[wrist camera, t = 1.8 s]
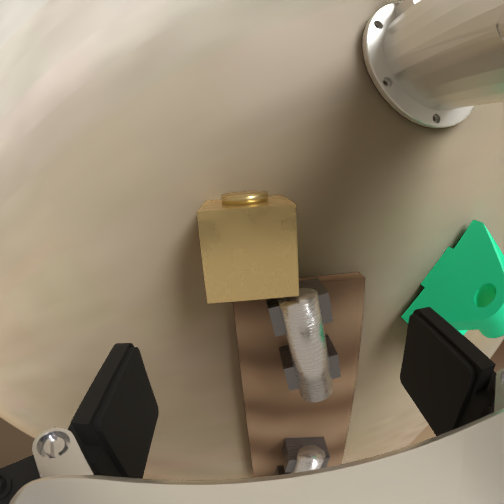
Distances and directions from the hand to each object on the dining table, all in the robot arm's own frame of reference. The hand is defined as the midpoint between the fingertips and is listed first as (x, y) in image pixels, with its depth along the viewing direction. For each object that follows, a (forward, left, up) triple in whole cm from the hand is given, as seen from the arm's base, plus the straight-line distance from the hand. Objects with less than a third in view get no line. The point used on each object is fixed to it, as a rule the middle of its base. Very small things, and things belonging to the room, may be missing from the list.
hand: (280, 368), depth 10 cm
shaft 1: (+7, +3, -15) cm, 17 cm away
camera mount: (+6, +20, -17) cm, 27 cm away
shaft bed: (+16, +3, -16) cm, 23 cm away
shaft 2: (+25, +3, -15) cm, 30 cm away
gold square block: (-1, -1, -17) cm, 17 cm away
